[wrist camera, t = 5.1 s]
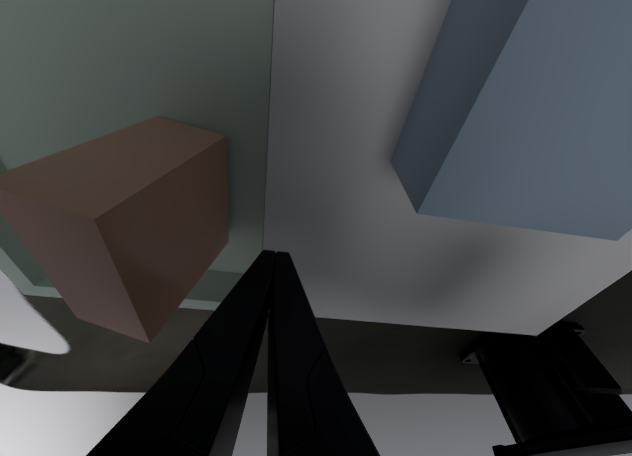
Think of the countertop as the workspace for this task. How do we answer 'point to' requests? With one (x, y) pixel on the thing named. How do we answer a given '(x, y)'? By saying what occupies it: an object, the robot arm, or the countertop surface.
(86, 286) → the terracotta tile
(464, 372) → the countertop surface
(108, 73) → the tray
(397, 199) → the plate
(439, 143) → the slate blue tile
